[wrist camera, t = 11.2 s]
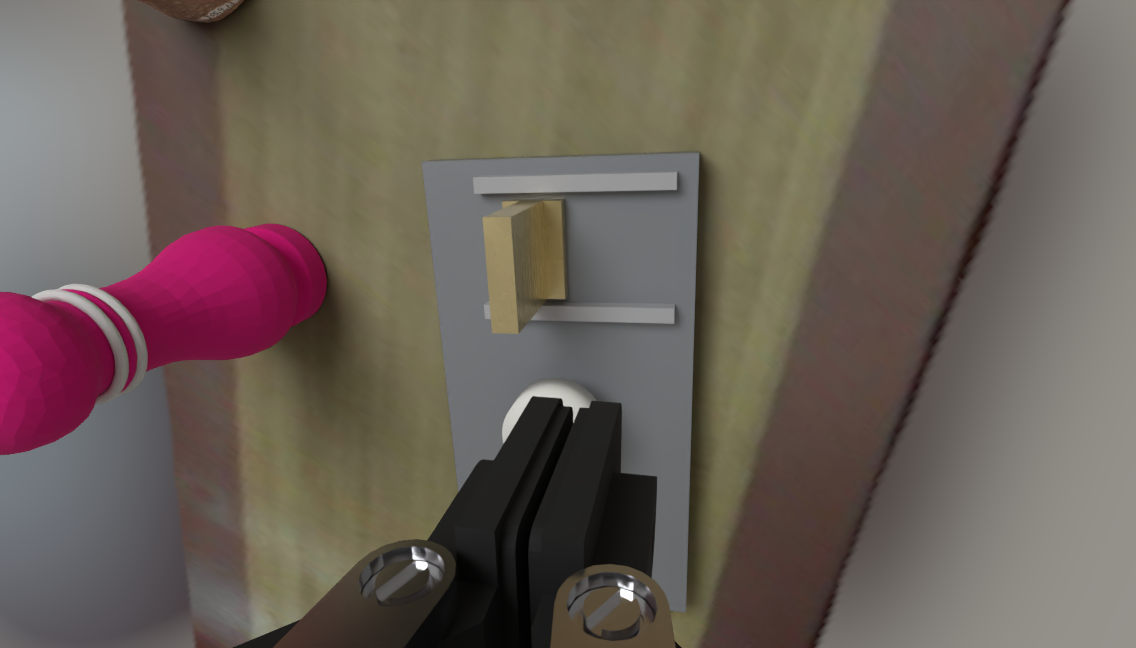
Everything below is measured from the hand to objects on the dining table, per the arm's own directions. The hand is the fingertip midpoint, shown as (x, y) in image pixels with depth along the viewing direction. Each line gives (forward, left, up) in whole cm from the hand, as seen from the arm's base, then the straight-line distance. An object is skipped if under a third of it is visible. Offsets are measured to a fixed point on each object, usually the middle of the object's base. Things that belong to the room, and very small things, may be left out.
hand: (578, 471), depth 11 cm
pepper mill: (-2, +23, -22) cm, 32 cm away
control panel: (-9, +5, -22) cm, 24 cm away
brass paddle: (0, +6, -20) cm, 21 cm away
